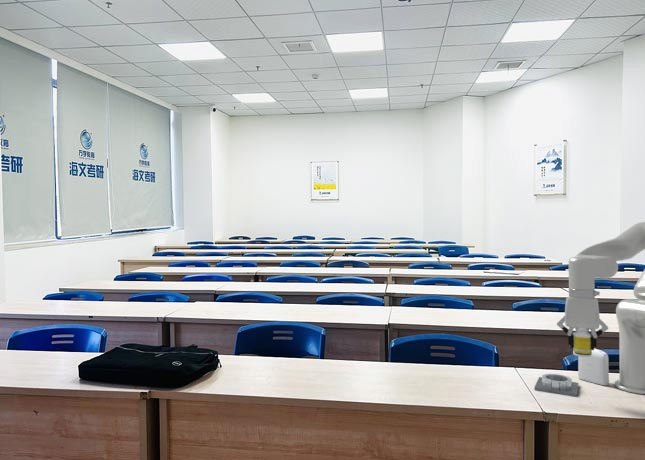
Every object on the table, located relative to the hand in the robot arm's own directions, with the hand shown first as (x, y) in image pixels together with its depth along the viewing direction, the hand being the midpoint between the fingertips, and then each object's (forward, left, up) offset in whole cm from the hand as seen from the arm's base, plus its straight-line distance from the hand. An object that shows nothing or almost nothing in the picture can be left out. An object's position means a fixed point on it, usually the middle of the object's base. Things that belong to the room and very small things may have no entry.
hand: (582, 347), depth 156 cm
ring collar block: (+8, -8, -17) cm, 21 cm away
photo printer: (-3, -22, -17) cm, 28 cm away
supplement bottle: (0, 0, -3) cm, 3 cm away
